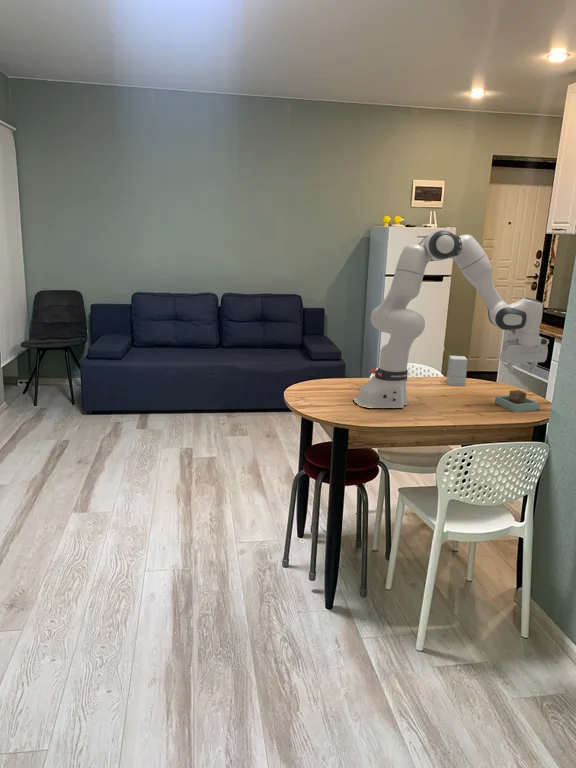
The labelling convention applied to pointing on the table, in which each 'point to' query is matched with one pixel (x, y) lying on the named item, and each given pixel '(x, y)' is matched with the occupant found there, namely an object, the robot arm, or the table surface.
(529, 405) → the sage tray
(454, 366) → the supplement box
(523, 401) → the walnut block
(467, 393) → the table surface
